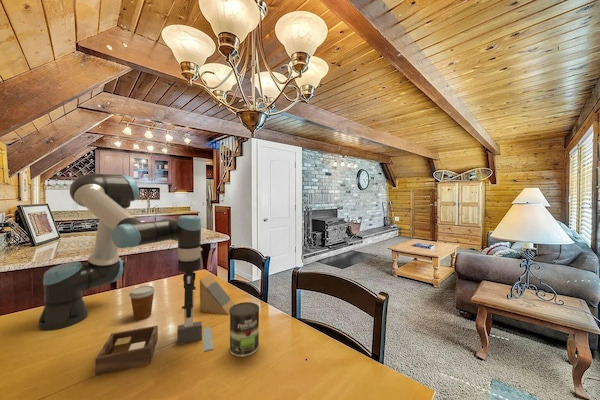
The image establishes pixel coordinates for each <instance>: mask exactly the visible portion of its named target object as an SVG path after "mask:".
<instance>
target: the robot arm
mask: <svg viewBox="0 0 600 400" xmlns="http://www.w3.org/2000/svg"><path fill="white" fill-rule="evenodd" d="M139 195H140V189H139V185H138V183H137V181H136V179H135V178H134V177H132V176H130V175H124V174H109V173H93V172H92V173H85V174H82V175H80V176H78V177H76V178H75V179H74V180H73V181H72V183H71V184H70V187H69V196H70V197H71V199H72V201H74V202H75V203H76V204H77V205H78V206H80V207H84V208H86V209H87V210H88V211H89V212H91V213H92V215H94V216H95V217H96V218H97V219H98V225H97V229H96V230H97V232H96V236H95V242H94V248H93V253H92V254H91V255H89V256H88V257H87V262H86V263H81V262H79V261H71V262H65V263H63V264H62V263H61V264H58V265H55V266H53V267H51V268H49V269H48V270H46V271H45V272H44V273H43V282H42V285H43V308H42V311H41V314H40V316H39V320H38V323H37V324H38V329H40V330H41V331H42V330H43V331H51V330H58V329H62V328H66V327H70V326H72V325H75V324H77V323H79V322H81V321H84V320H85V319H86V318H87V317H88V315H89V310H88V306H87V305H86V303H85V301H84V299H83V292H84V291H87V290H91V289H94V288H98V287H102V286H106V285H110V284H112V283H114V282H116V281H118V280H120V278H121V277H122V275H123V272H124V266H123V265H124V263H123V260H122V259H121V258H120V256H119V255H118V254H117V253H118V248H119V249H125V248H135V247H139V246H145V245H149V244H155V243H159V242H160V243H161V242H165V241H166V242H167V241H176V242H177V259H178V260H177V271H179V272H181V273H183V277H182V280H183V289H184V298H183V299H184V302H183V304H184V305H182V306H181V310H184V311H183V323H184V324H183V325H184V327H187V326H193V323H194V307H195V291H196V287H197V286H195V281H196V272H195V271H198V270H200V269H201V267H202V266H201V265H202V263H201V262H202V261H201V257H202V256H201V252H202V251H203V248H202V247H201V243H202V242H201V240H202V237H201V236H202V231H201V229H202V224H201V217H200V216H199V215H192V214H190V215H180V216H179V217H178V218H177V219H172V218H162V219H158V220H155V221H154V220H153V221H143V222H142V221H140V220H138V219H137V218H136V217H135V216H133V215H132V214H131V213H129V211H127V209H129V208H130V206H131V204H132V203H131V202H134V201H136V200H137V199H138V198H139Z"/></svg>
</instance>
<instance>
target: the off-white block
mask: <svg viewBox="0 0 600 400" xmlns="http://www.w3.org/2000/svg"><path fill="white" fill-rule="evenodd" d="M145 347H146V341H144V342H139V343H134V344H131V346H130V348H129V350H134V349H140V348H145ZM129 350H128V351H129Z"/></svg>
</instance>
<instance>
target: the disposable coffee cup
mask: <svg viewBox="0 0 600 400" xmlns="http://www.w3.org/2000/svg"><path fill="white" fill-rule="evenodd" d="M155 292H156V288H155V287H154V286H152V285H144V286H143V285H142V286H138V287H135V288H133V289H132V290H131V291H130V292H129V295H128V296H129V297H130V300H131V301H130V302H131V307H132V313H133V319H134V320H136V321H141V320H146V319H147V318H150V317H151V316H152V310H153V301H154V296H155V295H154V294H155Z"/></svg>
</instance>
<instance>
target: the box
mask: <svg viewBox="0 0 600 400" xmlns="http://www.w3.org/2000/svg"><path fill="white" fill-rule="evenodd" d="M158 327H159V326H158V325H152V326H146V327H141V328H134V329H129V330H124V331H118V332H113V333H112V332H111V333H110V334H109V336H108V338H107V340H106V342H105V343H104V344H103V346H102V347H101V349H100V351H99V353H98V354H97V356H96V357H95V359H94V360H95V361H94V363H95V377H99V376H101V375H106V374H111V373H114V372H115V373H116V372H120V371H124V370H129V369H135V368H138V367H142V366H147V365H151V364H152V361H153V357H154V354H155V351H156V346H157V342H158V340H159V328H158ZM130 336H132V344H134V343H139V342H144V341H146V347H145V348H140V349H134V350H129V351H124V352H119V353H114V345H115V343H116V341H117V339H119V338H125V337H130Z"/></svg>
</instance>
